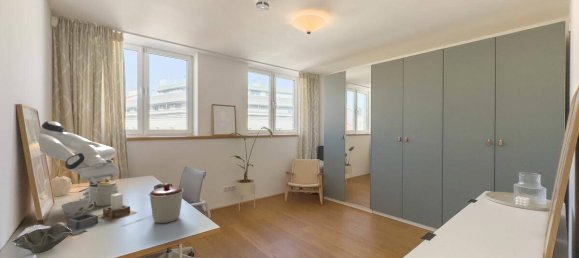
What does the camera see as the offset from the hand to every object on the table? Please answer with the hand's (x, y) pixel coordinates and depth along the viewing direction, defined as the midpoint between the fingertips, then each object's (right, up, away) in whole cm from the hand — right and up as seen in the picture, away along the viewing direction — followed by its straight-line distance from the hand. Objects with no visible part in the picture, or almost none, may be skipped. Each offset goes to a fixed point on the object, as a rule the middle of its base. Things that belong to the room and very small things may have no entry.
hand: (105, 182), depth 149 cm
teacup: (-12, -20, -5) cm, 24 cm away
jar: (-13, -19, +19) cm, 30 cm away
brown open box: (+11, -19, -5) cm, 23 cm away
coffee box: (+33, -20, +7) cm, 39 cm away
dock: (+3, -20, -20) cm, 28 cm away
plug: (+11, -18, -5) cm, 22 cm away
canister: (+44, -20, -11) cm, 50 cm away
